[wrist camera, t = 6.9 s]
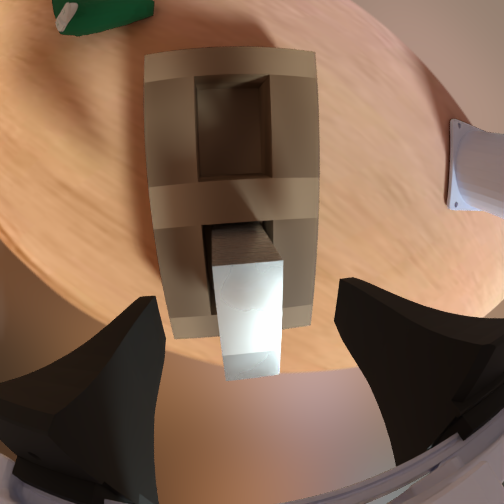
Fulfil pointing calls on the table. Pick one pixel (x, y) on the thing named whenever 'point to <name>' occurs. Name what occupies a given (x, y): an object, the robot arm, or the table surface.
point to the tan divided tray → (231, 169)
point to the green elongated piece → (98, 14)
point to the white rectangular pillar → (247, 299)
